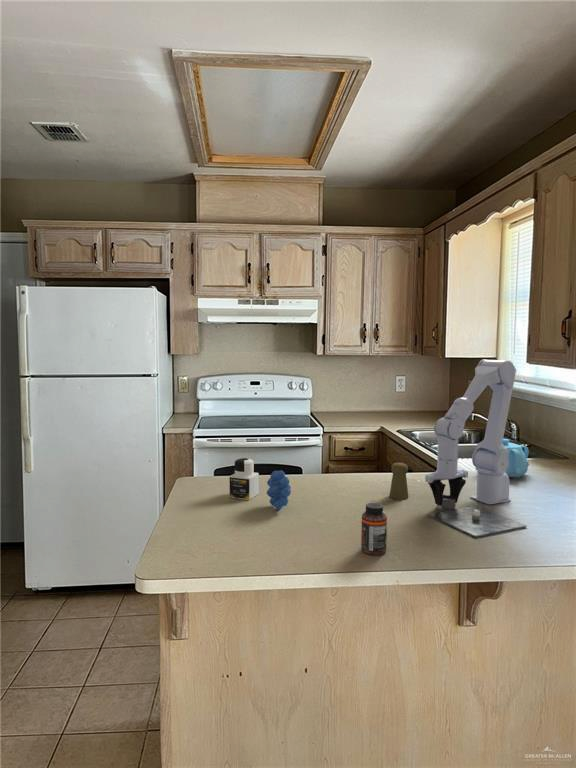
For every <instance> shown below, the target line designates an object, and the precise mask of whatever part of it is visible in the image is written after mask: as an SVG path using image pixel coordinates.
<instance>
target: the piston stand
mask: <svg viewBox="0 0 576 768" xmlns="http://www.w3.org/2000/svg"><path fill="white" fill-rule="evenodd" d="M428 517H430V518H432V519H434V520H436V521H438V522H441V523H442V524H444V525H446V526H448V527H451V528H453V529H456V530H457V531H458V532H459V531H460V532H462V533H463V534H465V535H467V534H468V535H467V536H469V535H470V537H471V536H472V537H471V538H474V539H479V538H478V537H480V538H483V537H488V536H492V535H493V536H494V535H498V534H503V533H507V532H508V533H509V532H512V531H513V532H514V531H517V530H523V529H526V528H527V525H525V524H523V523H520V522H518V521H516V520H514V519H511V518H508V517H506V516H503V515H502V514H498V513H496V512H493V511H491V510H489V509H486V508H484V507H481V506H479V505H472V506H466V507H462V508H461V507H460V508H455V509H454V510H448V511H437V512H432V513H428Z"/></svg>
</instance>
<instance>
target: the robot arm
mask: <svg viewBox="0 0 576 768" xmlns="http://www.w3.org/2000/svg"><path fill="white" fill-rule="evenodd" d="M474 372H475V375H474V377H473V379H472V380H471V382H470V384H469V386H468V387H467V389H466V391H465V393H464V394H463V396H462V397H458V398H456V399H455V400H454V401H453V404H452V405H451V407H450V408H449V409H448V411H447V412H446V413H445V415H444V417H441V418H439V419H437V420H436V422H435V424H434V425H435V426H433V431H434V434H435V436H436V442H437V461H436V462H437V464H436V465H437V466H436V470H435V471H434V472H432V473H428V474H425V480H424V481H425V482H427V484H428V485H429V487H430V489H431V492H432V495H433V498H434V503H435V505H436V506H437V505H439V506H441V505H442V501H443V494H444V491H445V488H446V486H447V484H445V483H443V482H442V481H448V485H449V495H452V496H454V497H456V502H455V504H457V503H458V500H459V497H460V494H461V491H462V490H463V488H464V486H465V485H466V483H467V480H466V479H467V478H469V471H468V470H465V469H458V463H459V462H458V460H459V458H458V457H459V438H461V436H462V435H463V433H464V430H465V429H464V427H465V426H466V425H465V424H466V421H467V419H468V418H469V417H470V415H471V414H472V412H473V411H474V408H475V407H474V403H475V401H476V400H478V397H480V395H481V394H482V393H483V391H485V389H486V388H487V386H489V387H490V388H491V390H492V396H491V400H490V406H489V412H488V416H487V421H486V428H485V433H484V438H483V440H482V441H480V442H477V444H476V446H475V447H476V448H475V450H474V451H473V453H472V456H471V462H472V465H473V466H474V468H475V471H477V474H476V494H475V495H470V498H471V499H473V500H476V501H478V502H481V503H483V504H486V505H494V504H500V503H506V502H511V501H512V499H511V498H510V482H511V481H510V477H508V475H507V474H506V473H505V471H506V470H507V468H508V465H509V460H508V453H509V451H508V450H507V448H506V447H505V446H504V445H503V444H502V442H503V439H504V435H505V431H506V424H507V420H508V415H509V411H510V405H511V399H512V394H513V388H514V384H515V378H516V374H517V369H516V366H515V365H514V364H513V362H512V361H511V360H502V359H501V360H496V359H486V358H485V359H484V358H483V359H481V360H480V361H479V362H478V364H477V366H476V367H475V368H474ZM488 450H493V451H495V452H492V451H488Z"/></svg>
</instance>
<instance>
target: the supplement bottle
mask: <svg viewBox="0 0 576 768" xmlns="http://www.w3.org/2000/svg"><path fill="white" fill-rule="evenodd" d="M383 511H384V505H383V504H382V503H379V502H368V503H366V504H365V511H364V512H363V513H362V514H361V539H360V540H361V541H360V545H361V547H360V548H361V551H362V552H364V554H367V555H370V556H381V555H384V554H385V553H386V552H387V539H388V537H387V534H388V533H387V532H388V517H387V515H386V513H384V512H383Z"/></svg>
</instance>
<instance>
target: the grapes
mask: <svg viewBox="0 0 576 768" xmlns="http://www.w3.org/2000/svg"><path fill="white" fill-rule="evenodd" d="M266 484H267V485H268V487H269V488H268V489H267V491H266V494H267V496H268V497H270V498H269V502H268V503H269V504H270V505H271V506H273V507H275V509H276V510H281V509H282V508H283V507H285V506H287V505H288V504H289V498H288V497H289V496H290V495H291V493H292V490H291V488H292V487H291V485H290V478H288V477H287V476H286V473H285V472H284V471H283V470H274V471H273V472H272V473H271V474H270V478H269V479H268V480H267V482H266Z"/></svg>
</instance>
